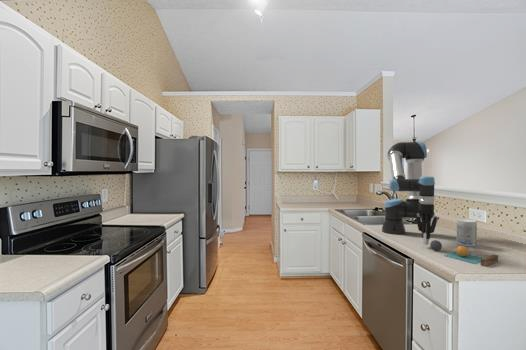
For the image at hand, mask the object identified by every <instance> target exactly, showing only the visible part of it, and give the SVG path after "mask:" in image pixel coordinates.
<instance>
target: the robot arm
mask: <svg viewBox="0 0 526 350" xmlns="http://www.w3.org/2000/svg"><path fill="white" fill-rule="evenodd" d="M427 157H428V149H427V146H426V144H425V142H423V141H404V142H403V141H402V142H401V141H400V142H397V143H395V144H393V145H392V146H391V147H390V148H389V149H388V151H387V160H388V161H389V165H390V173H391V178H390V179H389V181H388V182H389V190H390V191H392V192H407V193H408V196H407V197H406V198H405V201H404V200H403V198H391V199H387V200H386V201H384V221H383V225H382V227H381V232H383V233H385V234H391V235H404V234H406V228H405V224H404V222H403V221H404V220H403V219H404V218H405V219H416V220H415V221H416V225H417V229H418V231H419V232H421V238H422V240H423V241H422V242H423V243H422V244H423V245H425V246H427V245H430V243H429V242H430V241H429V240H430V239H431V234H433V233H435V230H436V227H437V223H438V220H439V219H440V217H439V216H437V215H435V184H436V182H435V177H434V176H423V172H422V171H423V167H422V166H423V165H422V164H423V162H424V161H425V159H427ZM403 159H405V160H404V161H405V163H407V177H408V178H406V174H405V169H404V163H403Z"/></svg>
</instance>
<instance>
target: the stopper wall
mask: <svg viewBox="0 0 526 350" xmlns="http://www.w3.org/2000/svg"><path fill="white" fill-rule="evenodd" d="M498 262H499V255H497V254H491V255H488V256H485V257H484V258H482V259H481V262H480V266H481V267H489V266H490V265H491V266H492V265H493V264H496V263H498Z"/></svg>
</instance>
